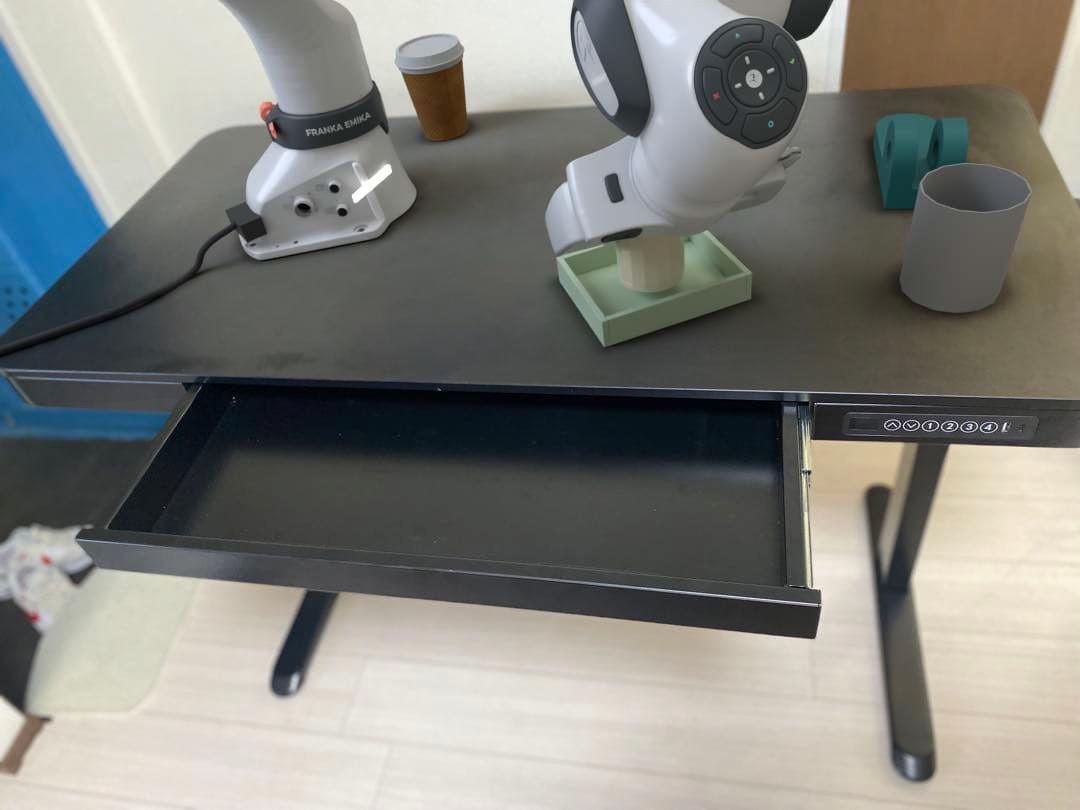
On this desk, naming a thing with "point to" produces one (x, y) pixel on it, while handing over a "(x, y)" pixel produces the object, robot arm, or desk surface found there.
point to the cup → (963, 236)
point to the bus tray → (631, 313)
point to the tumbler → (650, 262)
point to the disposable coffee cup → (435, 83)
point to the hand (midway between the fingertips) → (646, 226)
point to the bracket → (915, 153)
